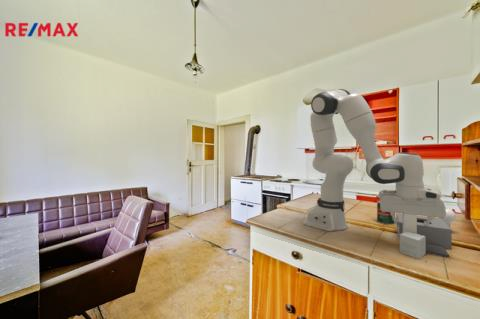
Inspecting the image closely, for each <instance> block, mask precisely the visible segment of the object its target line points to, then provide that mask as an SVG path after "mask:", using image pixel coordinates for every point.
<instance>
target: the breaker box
mask: <svg viewBox="0 0 480 319" xmlns="http://www.w3.org/2000/svg"><path fill="white" fill-rule="evenodd" d="M395 217H396V218H398V223H396V232H397V236H398V240H399V241H400V234H402V233H403V213H395ZM427 219H428V217H427V216H423V215H417V234H419V235H423V236H425V244H430V245H436V246H441V247H444V248H445V249H446V250H452V237H453V236H452V235H453V234H452V229H451V226H450V227H449V226H448V225H447V224H446V223H445V222H444V221H443V220H442V219H440V218H438V217H433V220H432V221H431V222H430V223H429V227H426V226H424V224H423V223H424V222H423V221H426V220H427Z"/></svg>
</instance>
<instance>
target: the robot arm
mask: <svg viewBox="0 0 480 319" xmlns="http://www.w3.org/2000/svg"><path fill="white" fill-rule="evenodd" d="M310 107H311V110H312V112H311V114H310V118H309V119H310V127H311V128H310V129H311V132H312V133H311V134H312V136H313V143H314V158H313V160H312V167H313V169H314V170H316V171H317V172H319V173H320V174H324V175H325V177H324V181H323V182H322V183H321V185H320V197H318V198H317V200H316V203H317V205H315V206H314V207H312V208H311V209H309V211H308V212H307V215H306V217H305V218H304V219H303V220H302V224H303V225H304V226H309V227H313V228H316V229H320V230H323V231H327V232H334V231H344V230H346V229H347V228H348V225H347V221H346V217H345V215H346V214H345V210H346V208H345V205H346V203H345V199H344V185H345V182H346V179H347V177H348V175H350V174H351V172H353V170H354V161H353V159H352V158H351V157H350V156H346V155H345V154H338V153H337V154H335V151H334V150H335V146H336V144H337V143H338V138H337V133H336V130H335V124H334V120H333V119H334V115H338V114H339V115H340V116H341V119H342V121H343V122H344V124H345V127H346V129H347V130H348V132H349V134H350V135H351V136H352V137H353V139H354V140H355V141H356V142H357V143H358V145H359V147H360V148H361V152H362V154H363V157H364V158H365V161H366V166H365V171H366V174H367V176H368V177H369V178H371V179H372V180H373V181H374V182H376V183H377V184H381V185H387V184H395V190H387V189H382V190H381V191H379V193H378V198H379V201H381V202H380V209H381V210H382V211H384V212H390V214H391V216H392V217H393V219H394V222H395V224H397V223H398V218H397V217H396V213H398V214H403V213H405V214H414V215H417V216H423V217H428V219H427V220H426V221H423V222H424V223H423V224H424V226H426V227H429V223H430V222H431V221H432V220H433V218H438V217H445V216H446V209H445V208H446V205H445V202H443V200H442V199H441V197H442V194H441V193H440V192H439V191H438V190H436V189H432V188H428V187H425V182H424V180H423V178H424V173H425V171H424V163H423V159H422V157H421V155H419V154H417V153H412V152H403V151H401V152H397V153H396V154H394V155H392V156H390V157H389V158H386V159H384V157H383V156H382V154H381V152H380V149H379V148H378V145H377V142H376V138H375V136H376V129H377V123H376V118H375V116H374V112H373V111H372V109H371V107H370V105H369V104H368V102H367V100H366V99H365V98H364V97H363V96H362V94H360V93H357V92H355V93H354V92H352V93H351V92H349V91H348V90H347V89H342V88H338V89H329V90H328V91H322V92H320V93H317V94H316V95H315V96H313V98H312V100H311V102H310ZM394 215H395V216H394Z"/></svg>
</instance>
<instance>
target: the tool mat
mask: <svg viewBox="0 0 480 319" xmlns="http://www.w3.org/2000/svg"><path fill="white" fill-rule="evenodd" d="M425 245H426V254H427V255H433V256H440V257H444V258H447V259H449V258H450V254H449V252H448V251H447V249H446V248H444V247H441V246H436V245H430V244H425Z"/></svg>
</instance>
